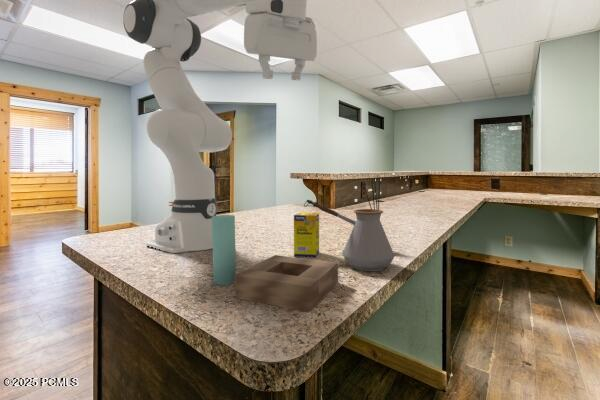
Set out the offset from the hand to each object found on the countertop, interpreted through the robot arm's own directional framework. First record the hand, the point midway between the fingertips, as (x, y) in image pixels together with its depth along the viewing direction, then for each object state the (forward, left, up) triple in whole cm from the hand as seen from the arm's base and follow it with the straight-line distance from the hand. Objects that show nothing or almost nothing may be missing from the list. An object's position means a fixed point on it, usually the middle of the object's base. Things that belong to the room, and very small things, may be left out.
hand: (282, 79), depth 71 cm
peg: (-5, -17, -43) cm, 47 cm away
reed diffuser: (+17, +20, -43) cm, 51 cm away
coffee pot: (+14, +4, -43) cm, 46 cm away
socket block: (+9, -16, -43) cm, 47 cm away
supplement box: (+2, +8, -43) cm, 44 cm away
